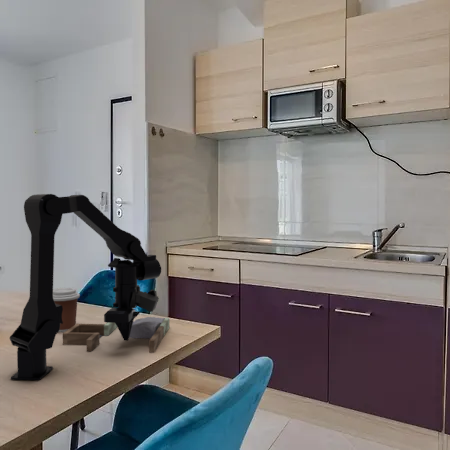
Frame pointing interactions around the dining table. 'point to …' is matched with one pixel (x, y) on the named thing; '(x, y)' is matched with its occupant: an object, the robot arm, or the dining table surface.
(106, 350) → the dining table surface
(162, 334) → the channel
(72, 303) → the coffee cup
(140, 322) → the stone block
